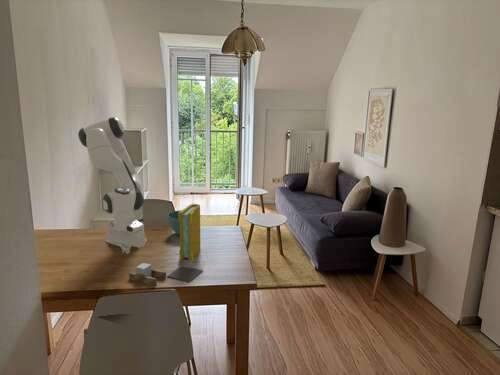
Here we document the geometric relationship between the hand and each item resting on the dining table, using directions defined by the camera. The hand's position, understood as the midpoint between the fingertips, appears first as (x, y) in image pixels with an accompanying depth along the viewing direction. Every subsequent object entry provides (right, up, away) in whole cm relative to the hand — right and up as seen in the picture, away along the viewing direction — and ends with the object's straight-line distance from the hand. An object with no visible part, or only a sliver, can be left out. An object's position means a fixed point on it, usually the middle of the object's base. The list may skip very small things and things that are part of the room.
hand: (126, 252), depth 170 cm
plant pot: (+16, +2, +57) cm, 59 cm away
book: (+25, -6, +28) cm, 38 cm away
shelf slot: (+10, -12, -1) cm, 15 cm away
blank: (+8, -12, 0) cm, 14 cm away
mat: (+26, -11, +5) cm, 29 cm away
